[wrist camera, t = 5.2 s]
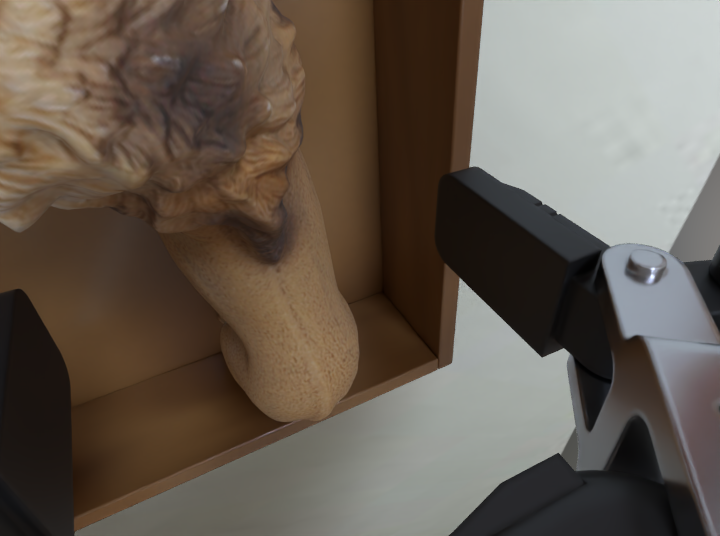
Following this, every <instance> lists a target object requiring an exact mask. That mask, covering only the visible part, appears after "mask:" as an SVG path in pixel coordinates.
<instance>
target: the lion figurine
mask: <svg viewBox="0 0 720 536" xmlns="http://www.w3.org/2000/svg"><path fill="white" fill-rule="evenodd" d="M295 36H296V28H295V25H294V23H293V22H292V21H291V20H290V19H289V18H287V17H285V16H284V15H282V13H281V12H280V11H279V9H278V8H277V7H276V5H275V4H274V3H273V2H272V0H0V222H1V223H2V224H4V225H6V226H7V227H9V228H10V229H12V230H14V231H15V232H19V233H20V232H22V231H24V230H26V229H28V228H29V227H30V226H31V225H33V224H34V223H35V222H36V221H37V220H38V219H39V218H40V217H41V216H42V214H43V213H44V212H45V211H46V210H47V209H48V208H49V207H50V206H53V207H56V208H59V209H66V210H71V209H81V208H104V207H109V208H111V209H113V210H115V211H116V212H118V213H120V214H122V215H126V216H133V217H137V218H139V219H141V220H143V221H145V222H146V223H148V224H149V225H150V226H151V227H152V228H154V229H155V230H156V231H157V232H158V234H159V236H160V238H161V239H162V241H163V243H164V245H165V247H166V249H167V250H168V252H169V254H170V256H171V257H172V259H173V260H174V262H175V263H176V265H177V266H178V268H179V269H180V270H181V271H182V273H183V274H184V275H185V276H186V278H187V279H188V280H189V281H190V283H191V284H192V285H193V286H194V288H195V289H196V290H197V291H198V292H199V293H200V295H201V296H202V297H203V298H204V299H205V300H206V301H207V302H208V303H209V304H210V305H211V306H212V307H213V308H214V309H215V310H216V312H215V313H216V317H217V319H218V320H219V321H220V322H221V323H222V324H224V325H223V326H222V328H221V333H220V345H221V350H222V353H223V356H224V358H225V361H226V364H227V366H228V368H229V370H230V372H231V374H232V376H233V377H234V379H235V380H236V382H237V383H238V384H239V385H240V386H241V388H242V389H243V390H244V391H245V392H246V394H247V396H248V397H249V398H250V399H251V401H252V402H253V403H254V404H255V405H256V406H257V407H258V408H259V409H260V410H261V411H262V412H263V413H264V414H266V415H267V416H268V417H270V418H272V419H274V420H276V421H281V422H292V421H296V420H301V419H307V420H310V421H319V420H321V419H323V418H325V417H327V416H328V415H329V414H330V413H331V412H332V410H333V408H334V407H335V405H336V404H337V403H338V402H339V401H340V400H341V399H342V398H343V397H344V396H345V395H346V394H347V392H348V391H349V389H350V387H351V385H352V383H353V381H354V378H355V376H356V374H357V370H358V361H359V344H358V331H357V325H356V323H355V320H354V317H353V314H352V312H351V310H350V308H349V306H348V304H347V302H346V300H345V299H344V297H343V296H342V294H341V293H340V291H339V290H338V287H337V283H336V279H335V274H334V269H333V264H332V259H331V254H330V249H329V244H328V240H327V235H326V230H325V225H324V219H323V215H322V210H321V206H320V202H319V199H318V196H317V193H316V190H315V187H314V184H313V181H312V178H311V175H310V173H309V170H308V167H307V164H306V161H305V159H304V157H303V154H302V152H301V150H300V148H299V147H300V145H301V144H302V140H303V125H302V121H301V107H302V104H303V100H304V95H305V72H304V69H303V67H302V61H301V58H300V55H299V53H298V51H297V49H296V46H295V44H294V40H295Z"/></svg>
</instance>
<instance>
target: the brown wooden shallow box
mask: <svg viewBox="0 0 720 536" xmlns="http://www.w3.org/2000/svg"><path fill="white" fill-rule="evenodd" d="M272 2H273V3H274V4H275V5H276V7H277V8H278V9H279V11H280V12H281V13H282V15H284V16H285V17H287V18H289V19H290V20H291V21H292V22H293V23H294V25H295V28H296V36H295V40H294V44H295V46H296V49H297V51H298V53H299V55H300V58H301V61H302V67H303V69H304V72H305V95H304V100H303V104H302V107H301V121H302V125H303V140H302V144H301V145H300V147H299V148H300V150H301V152H302V154H303V157H304V159H305V161H306V164H307V167H308V170H309V173H310V175H311V178H312V181H313V184H314V187H315V190H316V193H317V196H318V199H319V202H320V206H321V210H322V215H323V219H324V225H325V230H326V235H327V240H328V244H329V249H330V254H331V259H332V264H333V269H334V274H335V279H336V283H337V287H338V290H339V291H340V293H341V294H342V296H343V297H344V299H345V300H346V302H347V304H348V306H349V308H350V310H351V312H352V314H353V317H354V320H355V323H356V325H357V331H358V344H359V361H358V370H357V374H356V376H355V378H354V381H353V383H352V385H351V387H350V389H349V391H348V392H347V394H346V395H345V396H344V397H343V398H342V399H341V400H340V401H339V402H338V403H337V404H336V405H335V407H334V408H333V410H332V412H331V413H330V414H329V415H328V416H327V417H325V418H323V419H321V420H319V421H310V420H307V419H301V420H296V421H292V422H281V421H276V420H274V419H272V418H270V417H268V416H267V415H266V414H264V413H263V412H262V411H261V410H260V409H259V408H258V407H257V406H256V405H255V404H254V403H253V402H252V401H251V399H250V398H249V397H248V396H247V394H246V392H245V391H244V390H243V389H242V388H241V386H240V385H239V384H238V383H237V382H236V380H235V379H234V377H233V376H232V374H231V372H230V370H229V368H228V366H227V364H226V361H225V358H224V356H223V353H222V350H221V345H220V333H221V328H222V326H223V325H224V324H222V323H221V322H220V321H219V320H218V319H217V317H216V313H215V312H216V310H215V309H214V308H213V307H212V306H211V305H210V304H209V303H208V302H207V301H206V300H205V299H204V298H203V297H202V296H201V295H200V293H199V292H198V291H197V290H196V289H195V288H194V286H193V285H192V284H191V283H190V281H189V280H188V279H187V278H186V276H185V275H184V274H183V273H182V271H181V270H180V269H179V268H178V266H177V265H176V263H175V262H174V260H173V259H172V257H171V256H170V254H169V252H168V250H167V249H166V247H165V245H164V243H163V241H162V239H161V238H160V236H159V234H158V232H157V231H156V230H155V229H154V228H152V227H151V226H150V225H149V224H148V223H146V222H145V221H143V220H141V219H139V218H137V217H133V216H126V215H122V214H120V213H118V212H116V211H115V210H113V209H111V208H109V207H104V208H81V209H71V210H66V209H59V208H56V207H53V206H50V207H49V208H48V209H47V210H46V211H45V212H44V213H43V214H42V216H41V217H40V218H39V219H38V220H37V221H36V222H35V223H34V224H33V225H31V226H30V227H29V228H28V229H26V230H24V231H22V232H20V233H19V232H15V231H14V230H12V229H10V228H9V227H7V226H6V225H4V224H2V223H1V222H0V293H2V292H6V291H10V290H13V289H17V288H20V289H22V290H23V291H24V292H25V293H26V294H27V296H28V297H29V299H30V300H31V302H32V304H33V306H34V307H35V309H36V311H37V312H38V314H39V316H40V318H41V319H42V321H43V323H44V325H45V326H46V328H47V330H48V331H49V333H50V335H51V337H52V338H53V340H54V342H55V343H56V345H57V347H58V349H59V350H60V352H61V354H62V356H63V359H64V361H65V364H66V367H67V370H68V374H69V379H70V387H71V424H72V462H73V501H74V532H75V531H77V530H79V529H82V528H84V527H86V526H88V525H90V524H93V523H95V522H97V521H99V520H102V519H104V518H106V517H108V516H111V515H113V514H115V513H117V512H120V511H122V510H124V509H126V508H129V507H131V506H133V505H135V504H138V503H140V502H142V501H144V500H147V499H149V498H151V497H153V496H155V495H158V494H160V493H162V492H164V491H167V490H169V489H171V488H173V487H176V486H178V485H180V484H182V483H185V482H187V481H189V480H191V479H194V478H196V477H198V476H200V475H203V474H205V473H207V472H209V471H211V470H214V469H216V468H218V467H220V466H223V465H225V464H227V463H229V462H232V461H234V460H236V459H238V458H241V457H243V456H245V455H247V454H250V453H252V452H254V451H256V450H259V449H261V448H263V447H265V446H268V445H270V444H272V443H274V442H276V441H279V440H281V439H283V438H285V437H288V436H290V435H292V434H294V433H297V432H299V431H301V430H303V429H306V428H308V427H310V426H312V425H315V424H317V423H319V422H321V421H324V420H326V419H328V418H330V417H333V416H335V415H337V414H339V413H341V412H344V411H346V410H348V409H350V408H353V407H355V406H357V405H359V404H362V403H364V402H366V401H368V400H371V399H373V398H375V397H377V396H380V395H382V394H384V393H386V392H389V391H391V390H393V389H395V388H397V387H400V386H402V385H404V384H406V383H409V382H411V381H413V380H415V379H418V378H420V377H422V376H424V375H427V374H429V373H431V372H433V371H436V370H437V368H438V369H440V368H442V367H445V366H447V365H449V364H451V363H452V357H453V346H454V334H455V323H456V311H457V300H458V289H459V276H458V275H457V274H456V273H455V272H454V271H453V270H452V269H451V268H450V267H448V266H447V265H446V264H445V263H444V261H443V260H442V259H441V257H440V256H439V254H438V251H437V248H436V245H435V239H434V233H435V219H436V205H437V192H438V183H439V180H440V178H441V177H442V176H443V175H445V174H448V173H452V172H456V171H459V170H463V169H467V168H469V163H470V152H471V140H472V129H473V118H474V106H475V95H476V83H477V72H478V60H479V49H480V38H481V26H482V15H483V3H484V0H272Z"/></svg>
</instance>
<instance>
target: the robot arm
mask: <svg viewBox="0 0 720 536" xmlns="http://www.w3.org/2000/svg"><path fill="white" fill-rule="evenodd" d="M434 239H435V245H436V248H437V251H438V254H439V256H440V257H441V259H442V260H443V261H444V263H445V264H446V265H447V266H448V267H450V268H451V269H452V270H453V271H454V272H455V273H456V274H457V275H458V276H459V277H460V278H461V279H462V280H463V281H464V282H465V283H466V284H467V285H468V286H469V287H470V288H471V289H472V290H473V291H474V292H475V293H476V294H477V295H478V296H479V297H480V298H481V299H482V300H483V301H484V302H485V303H486V304H488V305H489V306H490V307H491V308H492V309H493V310H494V311H495V312H496V313H497V314H498V315H499V316H500V317H501V318H502V319H503V320H504V321H505V322H506V323H507V324H508V325H509V326H510V327H511V328H512V329H513V330H514V331H515V332H516V333H517V334H518V335H519V336H520V337H521V338H522V339H523V340H524V341H526V342H527V343H528V344H529V345H530V346H531V347H532V348H533V349H534V350H535V351H536V352H537V353H538V354H539V355H540V356H541V357H545V356H547V355H549V354H551V353H554V352H556V351H558V350H560V349H563V348H565V349H566V350H567V351H568V352H569V353H570V355H569V358H568V361H567V371H568V378H569V385H570V391H571V398H572V405H573V411H574V418H575V425H576V431H577V438H578V462H577V468H576V471H574V470H573V469H572V468H571V467H570V465H569V464H568V463H567V462H566V461H565V460H564V459H563V457H562V456H561V455H560V454H559V453H557V454H555V455H553V456H552V457H550V458H548V459H546V460H544V461H542V462H540V463H538V464H536V465H534V466H533V467H531V468H529V469H527V470H525V471H523V472H521V473H519V474H517V475H515V476H514V477H512V478H510V479H508V480H506V481H504V482H502V483H501V484H500V485H499V486H498V487H497V488H496V489H495V490H494V491H493V492H492V493H491V494H490V495H489V496H488V497H487V498H486V499H485V500H484V501H483V502H482V503H481V504H480V505H479V506H478V507H477V508H476V509H475V510H474V511H473V512H472V513H471V514H470V515H469V516H468V517H467V518H466V519H465V520H464V521H463V522H462V523H461V524H460V525H459V526H458V527H457V528H456V529H455V530H454V532H452V533H451V534H450V535H449V536H720V245H719V248H718V250H717V251H716V253H715V255H714V257H713V260H706V261H694V262H682V261H680V260H679V259H678V258H677V257H675V256H673V255H672V254H670V253H668V252H666V251H664V250H661V249H659V248H655V247H652V246H648V245H643V244H633V243H627V244H619V245H615V246H612V247H610V246H609V245H607V244H605V243H604V242H602V241H601V240H599V239H598V238H596V237H595V236H593V235H592V234H590V233H589V232H587V231H586V230H584V229H582V228H581V227H579V226H578V225H576V224H575V223H573V222H572V221H570V220H569V219H567V218H566V217H564V216H563V215H561V214H559V215H557V213H556V211H555V210H553V209H552V208H550V207H549V206H547V205H546V204H545V205H542V202H541V201H540V200H538V199H536V198H535V197H533V196H532V195H530V194H529V193H527V192H526V191H524V190H521V189H519V188H516V187H513V186H510V185H507V184H504V183H502V182H500V181H499V180H497V179H496V178H494V177H493V176H491V175H490V174H488V173H487V172H485V171H484V170H482V169H480V168H479V167H470V168H467V169H463V170H459V171H456V172H452V173H448V174H445V175H443V176H442V177H441V178H440V180H439V183H438V192H437V205H436V219H435V233H434ZM0 536H74V501H73V462H72V424H71V387H70V379H69V374H68V370H67V367H66V364H65V361H64V359H63V356H62V354H61V352H60V350H59V349H58V347H57V345H56V343H55V342H54V340H53V338H52V337H51V335H50V333H49V331H48V330H47V328H46V326H45V325H44V323H43V321H42V319H41V318H40V316H39V314H38V312H37V311H36V309H35V307H34V306H33V304H32V302H31V300H30V299H29V297H28V296H27V294H26V293H25V292H24V291H23V290H22V289H20V288H17V289H13V290H10V291H6V292H2V293H0Z"/></svg>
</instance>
